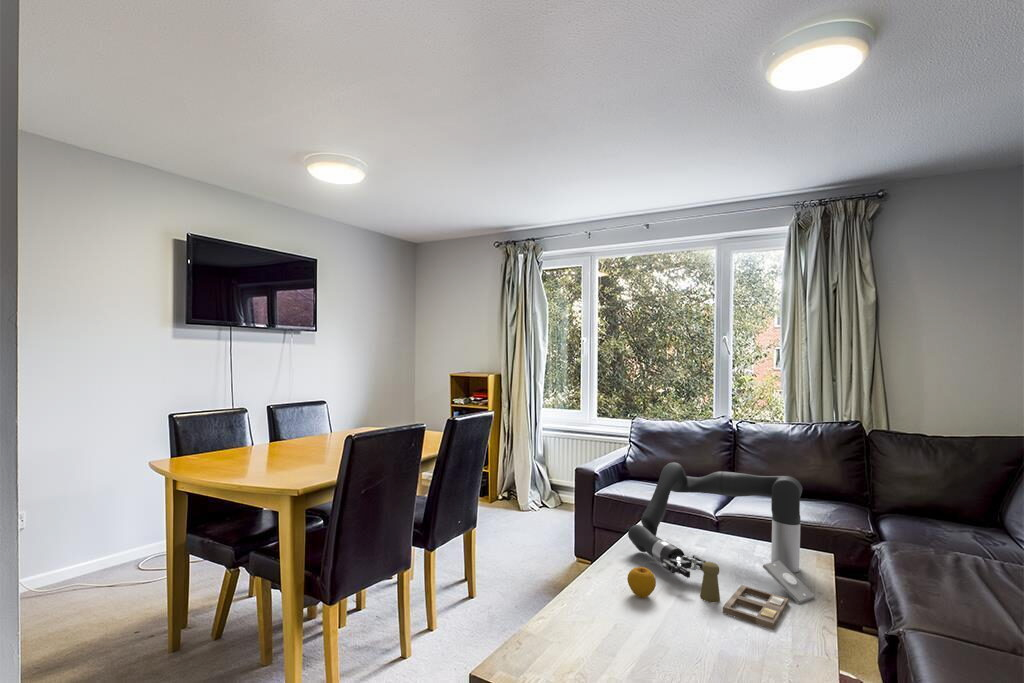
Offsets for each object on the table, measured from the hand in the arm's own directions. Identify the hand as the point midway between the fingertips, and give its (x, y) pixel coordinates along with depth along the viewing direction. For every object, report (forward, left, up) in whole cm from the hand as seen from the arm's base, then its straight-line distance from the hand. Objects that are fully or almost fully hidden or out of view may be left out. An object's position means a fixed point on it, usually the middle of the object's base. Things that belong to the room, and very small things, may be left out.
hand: (699, 573), depth 169 cm
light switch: (-20, +22, -6) cm, 31 cm away
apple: (+16, -13, -6) cm, 22 cm away
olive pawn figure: (+2, +4, -6) cm, 8 cm away
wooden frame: (-1, +17, -6) cm, 18 cm away
